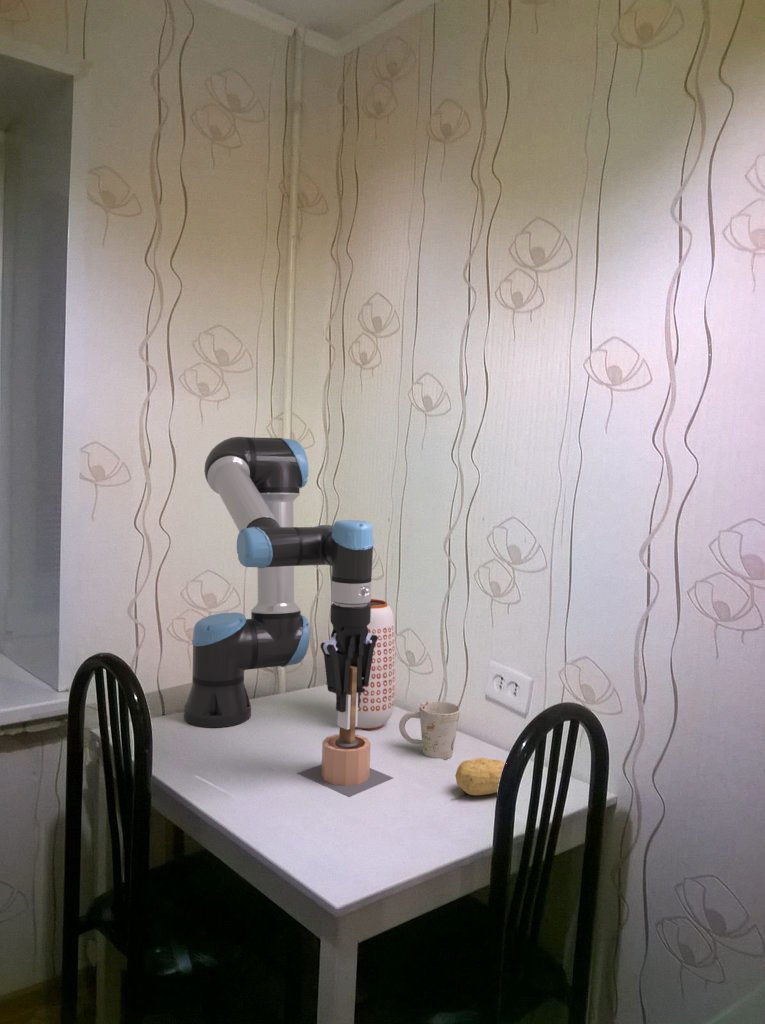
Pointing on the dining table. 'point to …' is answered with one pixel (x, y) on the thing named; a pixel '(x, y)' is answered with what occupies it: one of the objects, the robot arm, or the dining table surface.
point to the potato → (479, 775)
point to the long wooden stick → (345, 735)
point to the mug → (434, 728)
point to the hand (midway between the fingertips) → (347, 726)
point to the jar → (345, 762)
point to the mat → (350, 790)
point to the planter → (379, 670)
